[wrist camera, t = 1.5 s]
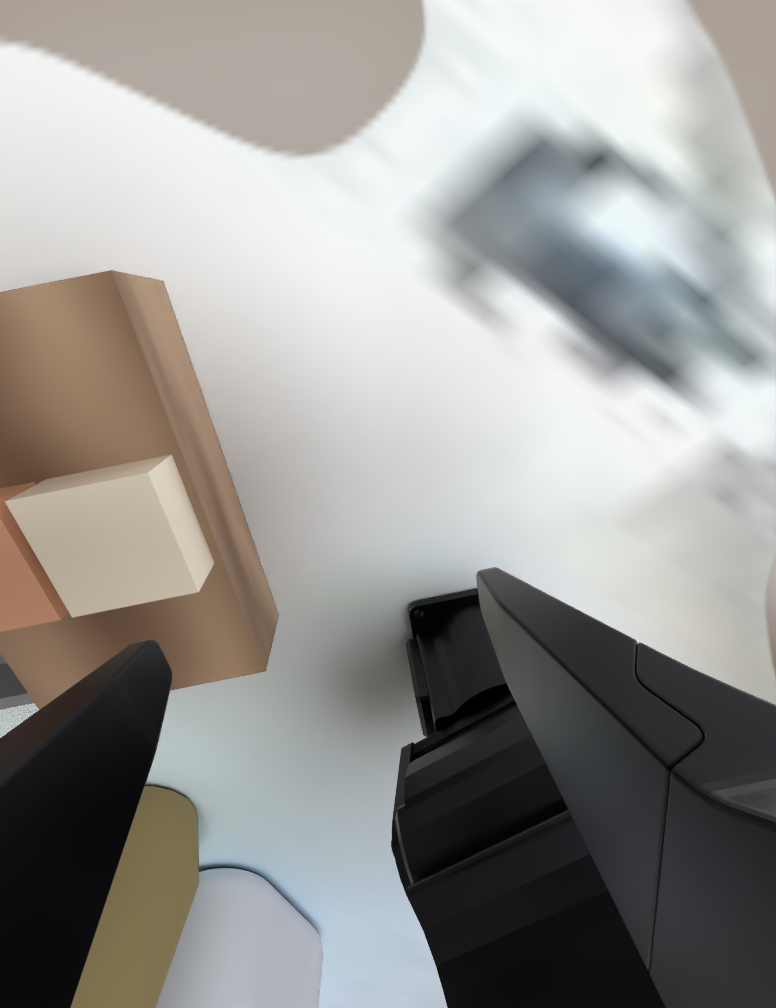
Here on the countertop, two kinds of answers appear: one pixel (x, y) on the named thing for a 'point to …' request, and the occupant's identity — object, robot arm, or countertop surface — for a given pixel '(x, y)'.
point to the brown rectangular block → (119, 440)
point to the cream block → (115, 535)
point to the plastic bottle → (243, 948)
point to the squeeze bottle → (144, 906)
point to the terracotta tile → (23, 575)
